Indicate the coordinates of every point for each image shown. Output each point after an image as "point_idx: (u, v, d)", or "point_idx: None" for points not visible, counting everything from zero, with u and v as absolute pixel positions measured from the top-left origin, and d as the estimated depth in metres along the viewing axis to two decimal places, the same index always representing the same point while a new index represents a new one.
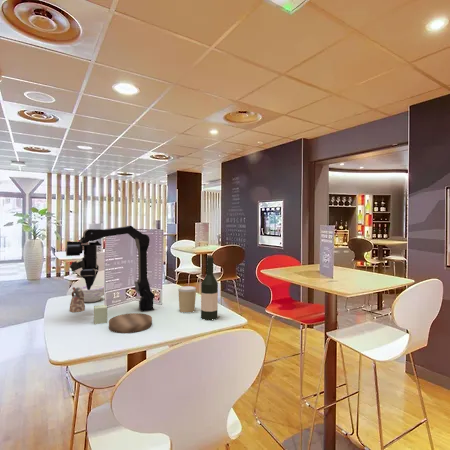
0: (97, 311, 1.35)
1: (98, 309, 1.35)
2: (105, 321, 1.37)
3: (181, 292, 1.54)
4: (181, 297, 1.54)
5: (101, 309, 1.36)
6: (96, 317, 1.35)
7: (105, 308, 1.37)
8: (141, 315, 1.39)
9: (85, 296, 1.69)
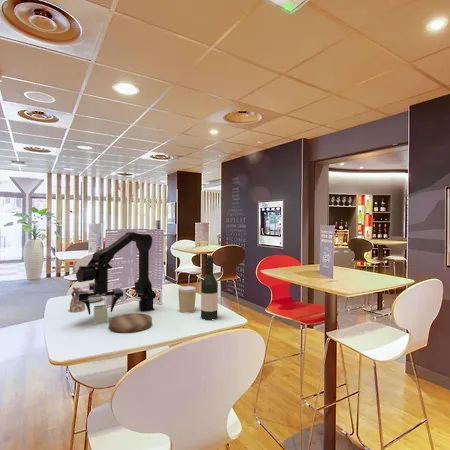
0: (97, 311, 1.35)
1: (98, 309, 1.36)
2: (105, 321, 1.37)
3: (181, 292, 1.54)
4: (181, 297, 1.54)
5: (101, 309, 1.36)
6: (96, 317, 1.35)
7: (105, 308, 1.37)
8: (141, 315, 1.39)
9: None
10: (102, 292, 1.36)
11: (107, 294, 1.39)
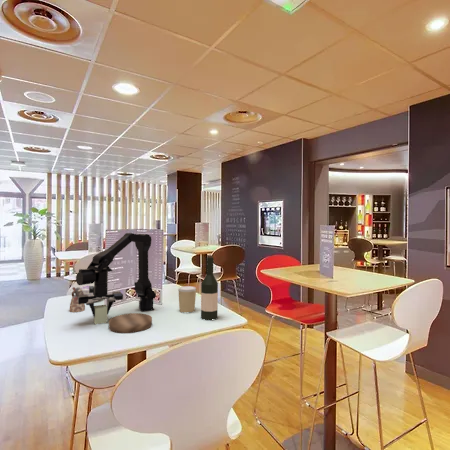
0: (97, 311, 1.35)
1: (98, 309, 1.36)
2: (105, 321, 1.37)
3: (181, 292, 1.54)
4: (181, 297, 1.54)
5: (101, 309, 1.36)
6: (96, 317, 1.35)
7: (105, 308, 1.37)
8: (141, 315, 1.39)
9: None
10: (102, 295, 1.36)
11: None
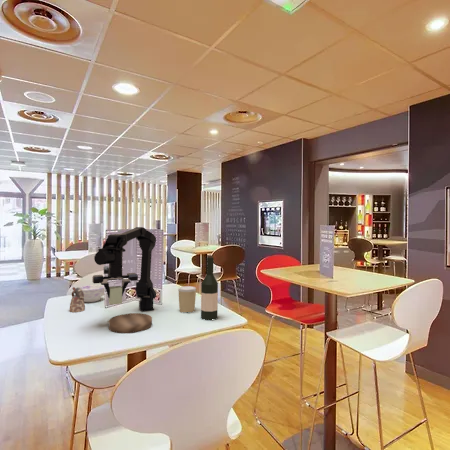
0: (112, 291, 1.33)
1: (113, 289, 1.33)
2: (120, 302, 1.34)
3: (181, 292, 1.54)
4: (181, 297, 1.54)
5: (116, 289, 1.34)
6: (111, 297, 1.33)
7: (120, 288, 1.34)
8: (141, 315, 1.39)
9: (85, 296, 1.69)
10: (117, 275, 1.33)
11: (122, 278, 1.37)
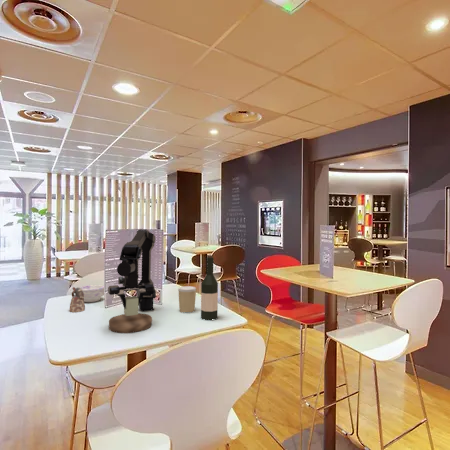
0: (128, 302, 1.30)
1: (129, 300, 1.30)
2: (136, 313, 1.32)
3: (181, 292, 1.54)
4: (181, 297, 1.54)
5: (132, 300, 1.31)
6: (127, 308, 1.30)
7: (136, 299, 1.32)
8: (141, 315, 1.39)
9: (85, 296, 1.69)
10: (133, 286, 1.31)
11: None
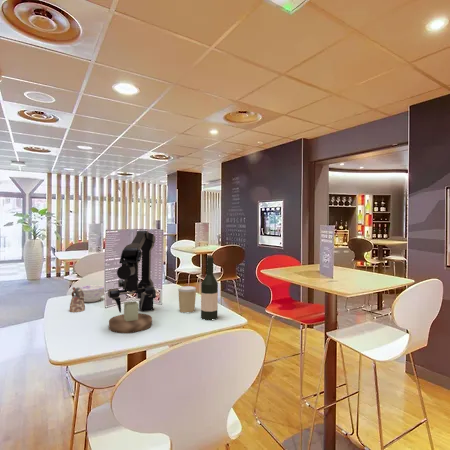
0: (128, 308, 1.30)
1: (129, 306, 1.30)
2: (136, 318, 1.32)
3: (181, 292, 1.54)
4: (181, 297, 1.54)
5: (132, 306, 1.31)
6: (127, 314, 1.30)
7: (136, 305, 1.32)
8: (141, 315, 1.39)
9: (85, 296, 1.69)
10: (133, 289, 1.31)
11: (137, 291, 1.34)
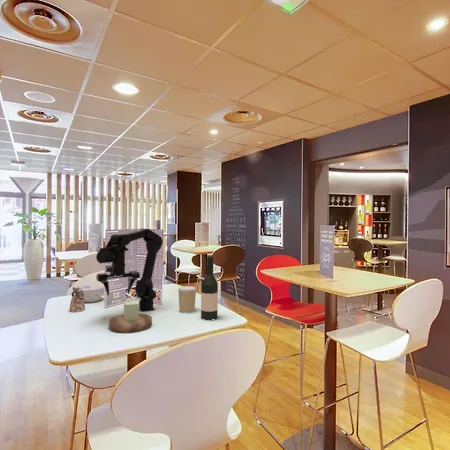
0: (128, 308, 1.30)
1: (129, 306, 1.30)
2: (136, 318, 1.32)
3: (181, 292, 1.54)
4: (181, 297, 1.54)
5: (132, 306, 1.31)
6: (127, 314, 1.30)
7: (136, 305, 1.32)
8: (141, 315, 1.39)
9: (85, 296, 1.69)
10: (120, 273, 1.40)
11: (124, 275, 1.44)
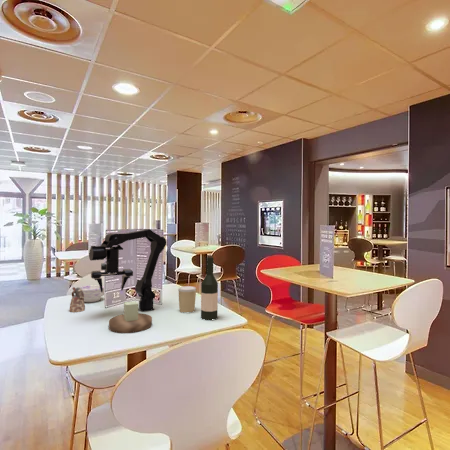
0: (128, 308, 1.30)
1: (129, 306, 1.30)
2: (136, 318, 1.32)
3: (181, 292, 1.54)
4: (181, 297, 1.54)
5: (132, 306, 1.31)
6: (127, 314, 1.30)
7: (136, 305, 1.32)
8: (141, 315, 1.39)
9: (85, 296, 1.69)
10: (113, 271, 1.45)
11: (118, 273, 1.48)
